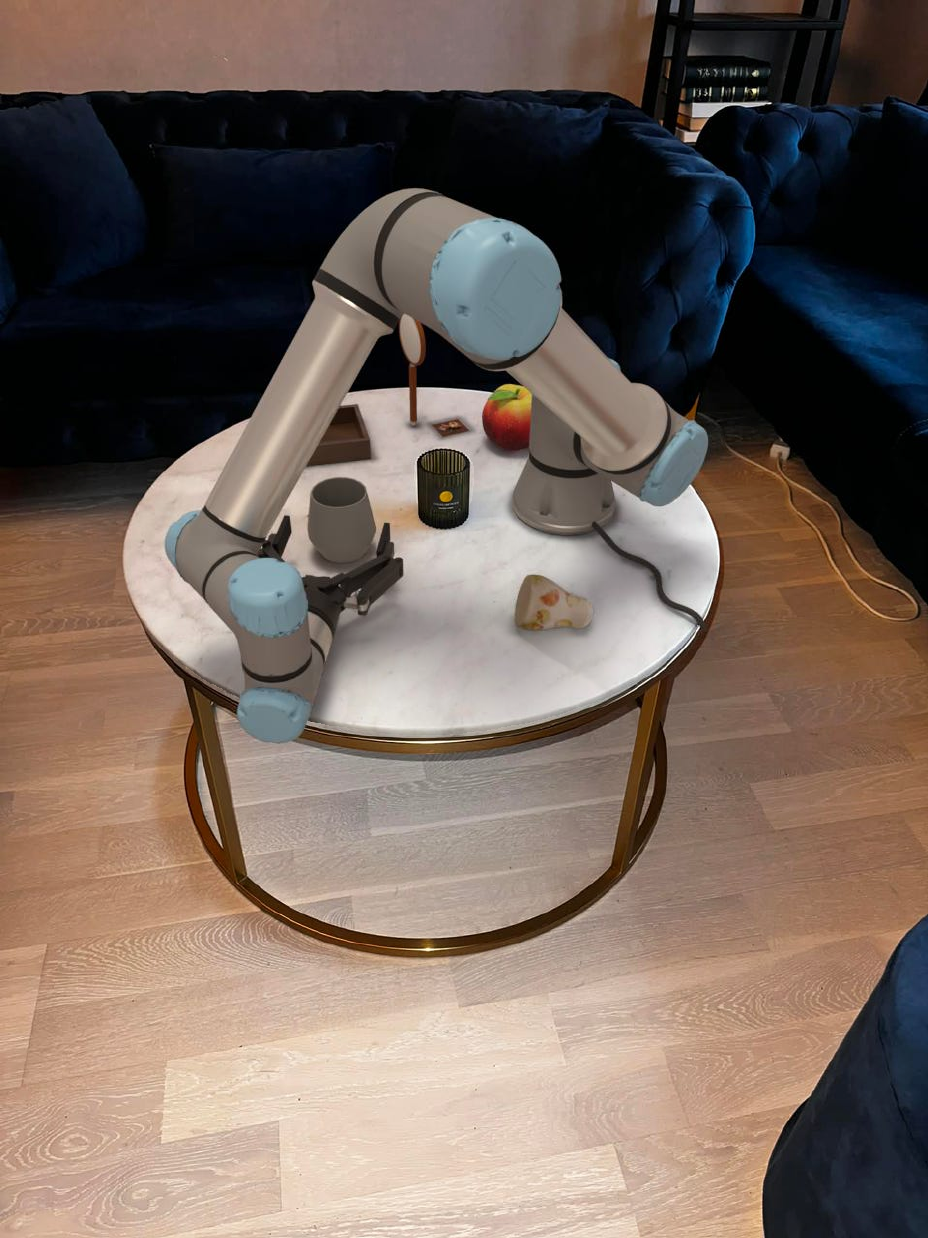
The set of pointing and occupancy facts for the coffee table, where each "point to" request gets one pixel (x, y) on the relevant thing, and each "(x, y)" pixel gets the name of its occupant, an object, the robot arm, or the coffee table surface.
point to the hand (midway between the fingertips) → (337, 527)
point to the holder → (343, 438)
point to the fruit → (508, 417)
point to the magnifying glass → (412, 355)
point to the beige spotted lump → (549, 606)
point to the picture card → (450, 427)
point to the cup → (340, 519)
